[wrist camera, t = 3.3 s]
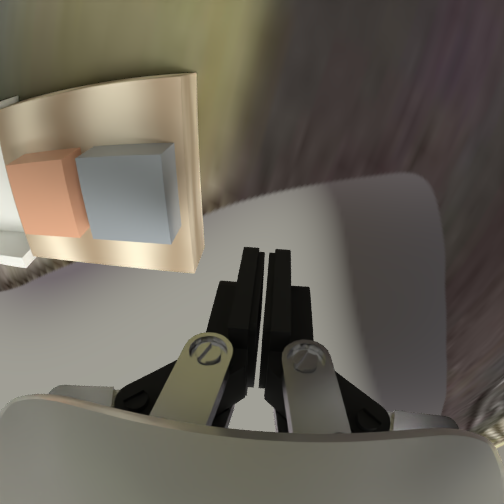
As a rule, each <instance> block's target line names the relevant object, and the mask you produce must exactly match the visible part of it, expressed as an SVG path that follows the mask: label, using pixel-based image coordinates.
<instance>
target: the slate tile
mask: <svg viewBox="0 0 504 504" xmlns="http://www.w3.org/2000/svg"><path fill="white" fill-rule="evenodd" d="M75 161H76V166H77V171H78V176H79V181H80V186H81V191H82V195H83V200H84V204H85V209H86V213H87V217H88V221H89V225H90V229H91V233H92V236H93V239H101V240H115V241H129V242H142V243H156V244H170V245H171V244H172V242H173V240H174V238H175V237H176V235H177V233H178V231H179V229H180V227H181V216H180V206H179V196H178V184H177V173H176V160H175V146H174V143H141V144H121V145H105V146H94V147H92V148H90V149H89V150H87V151H86V152H84V153H83V154H81V155H79V156H78V157H76V158H75Z"/></svg>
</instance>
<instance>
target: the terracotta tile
mask: <svg viewBox="0 0 504 504" xmlns="http://www.w3.org/2000/svg"><path fill="white" fill-rule="evenodd" d="M79 155H81V148H70V149H60V150H52V151H43V152H36V153H28V154H24V155H22V156H21V157H19V158H17V159H16V160H14V161H12V162H11V163H9V164H8V165H6V170H7V174H8V178H9V181H10V185H11V189H12V193H13V196H14V200H15V203H16V206H17V210H18V213H19V216H20V219H21V222H22V225H23V228H24V231H25V234H31V235H45V236H59V237H73V238H80V237H81V236H82V235H83V234H84V233H85V232H86V231H87V230H88V229H89V227H90V225H89V221H88V217H87V213H86V209H85V204H84V200H83V195H82V191H81V186H80V181H79V176H78V171H77V166H76V161H75V158H76V157H78V156H79Z"/></svg>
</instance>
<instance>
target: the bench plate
mask: <svg viewBox="0 0 504 504" xmlns="http://www.w3.org/2000/svg"><path fill="white" fill-rule="evenodd" d="M141 143H174V146H175V160H176V173H177V184H178V196H179V206H180V216H181V227H180V229H179V231H178V233H177V235H176V237H175V238H174V240H173V242H172V244H171V245H170V244H156V243H142V242H129V241H115V240H101V239H93V236H92V233H91V229H90V227H89V229H88V230H87V231H86V232H85V233H84V234H83V235H82V236H81V237H80V238H73V237H59V236H45V235H31V234H25V235H26V238H27V241H28V244H29V246H30V249H31V252H32V254H33V256H36V257H44V258H52V259H61V260H69V261H78V262H87V263H96V264H105V265H115V266H124V267H133V268H144V269H153V270H163V271H174V272H184V273H195V271H196V268H197V266H198V263H199V260H200V258H201V255H202V253H203V250H204V247H205V245H204V231H203V217H202V201H201V183H200V163H199V139H198V108H197V73H180V74H167V75H156V76H146V77H137V78H129V79H122V80H115V81H108V82H102V83H96V84H91V85H85V86H80V87H75V88H70V89H66V90H61V91H57V92H53V93H49V94H45V95H41V96H37V97H33V98H29V99H26V100H22V101H20V102H17V103H14V104H12V105H9V106H7V107H4V108H2V109H0V145H1V150H2V155H3V159H4V163H5V168H6V165H8V164H9V163H11V162H12V161H14V160H16V159H17V158H19V157H21V156H22V155H24V154H28V153H36V152H43V151H52V150H60V149H70V148H81V154H83V153H84V152H86V151H87V150H89V149H90V148H92V147H94V146H105V145H121V144H141ZM6 172H7V170H6ZM7 176H8V174H7ZM8 180H9V178H8ZM9 184H10V181H9ZM10 187H11V185H10ZM11 191H12V189H11ZM12 194H13V193H12ZM13 198H14V196H13ZM14 201H15V200H14ZM15 205H16V203H15ZM16 208H17V206H16ZM17 211H18V210H17ZM18 214H19V213H18ZM19 218H20V216H19ZM20 221H21V219H20ZM21 224H22V222H21ZM22 227H23V225H22ZM23 230H24V228H23ZM24 233H25V231H24Z"/></svg>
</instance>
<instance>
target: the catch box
mask: <svg viewBox="0 0 504 504" xmlns="http://www.w3.org/2000/svg"><path fill="white" fill-rule="evenodd" d="M17 102H19V96H15V97H12V98H9V99H6V100H3V101H0V109H2V108H4V107H7V106H9V105H12V104H14V103H17ZM35 258H36V256H33V254H32V252H31V249H30V246H29V244H28V241H27V238H26V235H25V233H24V230H23V227H22V224H21V221H20V218H19V214H18V211H17V208H16V205H15V201H14V198H13V194H12V191H11V187H10V184H9V180H8V176H7V172H6V168H5V163H4V159H3V155H2V150H1V145H0V264H4V265H10V266H16V267H22V268H27V267H28V266H29V264H30V263H31V262H32V261H33V260H34V259H35Z"/></svg>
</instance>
